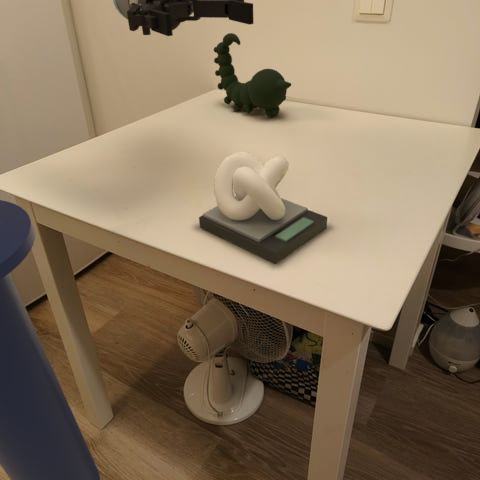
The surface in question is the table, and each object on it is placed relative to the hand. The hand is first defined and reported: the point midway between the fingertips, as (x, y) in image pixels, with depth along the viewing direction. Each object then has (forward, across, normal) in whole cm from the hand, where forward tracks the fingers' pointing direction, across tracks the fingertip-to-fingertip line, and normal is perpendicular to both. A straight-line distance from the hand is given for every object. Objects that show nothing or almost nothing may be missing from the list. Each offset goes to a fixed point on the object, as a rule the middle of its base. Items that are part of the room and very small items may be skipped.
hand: (211, 19), depth 66 cm
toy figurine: (-36, -29, -28) cm, 54 cm away
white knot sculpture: (+14, +1, -26) cm, 29 cm away
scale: (+15, +1, -28) cm, 32 cm away
